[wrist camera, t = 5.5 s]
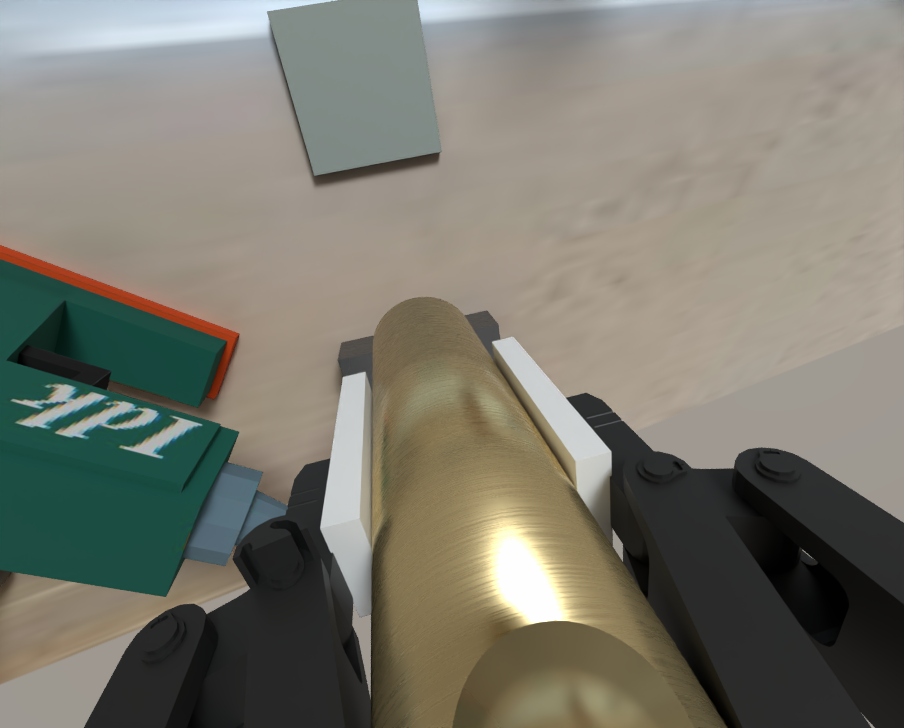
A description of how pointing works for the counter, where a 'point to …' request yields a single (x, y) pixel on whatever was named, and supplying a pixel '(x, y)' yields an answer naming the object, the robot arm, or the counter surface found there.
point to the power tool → (112, 435)
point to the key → (496, 559)
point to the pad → (358, 81)
